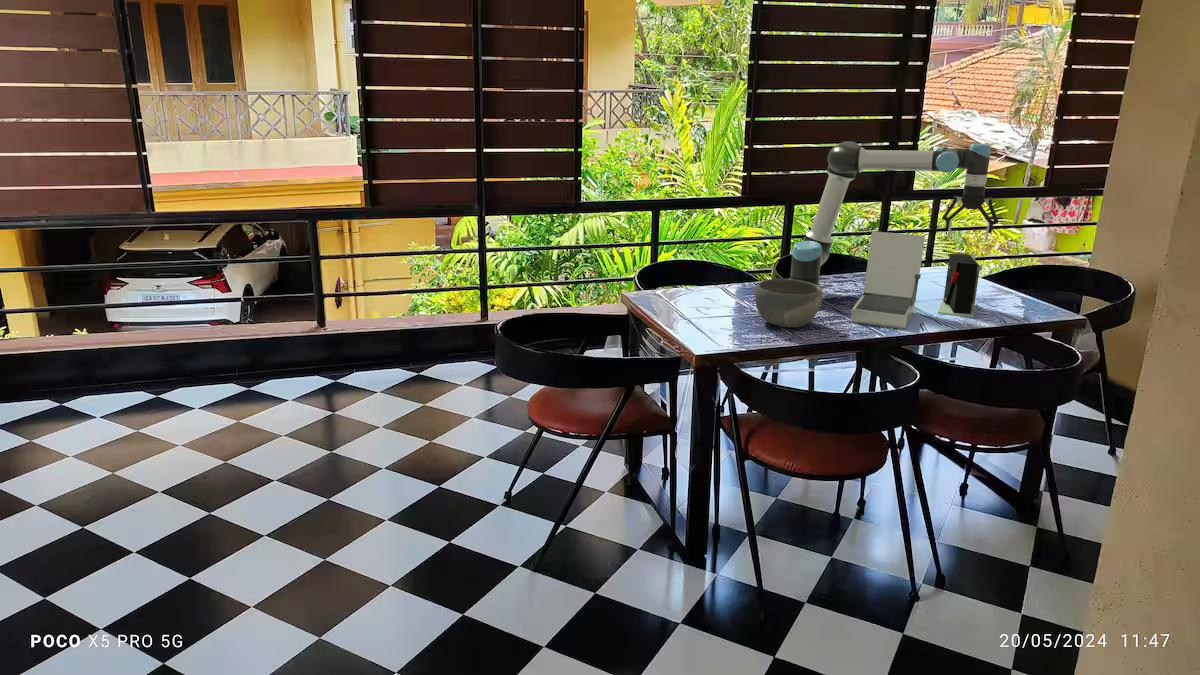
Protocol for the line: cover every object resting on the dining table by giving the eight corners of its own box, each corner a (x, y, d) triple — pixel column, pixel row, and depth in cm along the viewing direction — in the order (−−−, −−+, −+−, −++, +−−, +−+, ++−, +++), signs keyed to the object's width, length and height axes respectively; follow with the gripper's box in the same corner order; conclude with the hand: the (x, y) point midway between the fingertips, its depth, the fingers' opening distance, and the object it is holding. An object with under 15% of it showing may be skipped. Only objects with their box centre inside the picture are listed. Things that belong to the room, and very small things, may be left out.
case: (850, 321, 321) (858, 244, 311) (864, 302, 347) (872, 230, 338) (906, 329, 312) (916, 250, 303) (917, 308, 338) (926, 235, 329)
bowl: (821, 336, 304) (825, 296, 299) (753, 332, 308) (755, 292, 303) (817, 317, 327) (820, 279, 322) (753, 313, 331) (756, 276, 326)
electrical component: (976, 314, 329) (983, 264, 323) (948, 312, 331) (955, 262, 325) (967, 302, 346) (974, 254, 339) (941, 300, 348) (948, 253, 342)
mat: (937, 313, 333) (937, 311, 332) (942, 300, 350) (942, 299, 350) (973, 317, 327) (973, 316, 327) (976, 304, 345) (976, 303, 345)
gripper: (939, 183, 326) (932, 238, 332) (1010, 188, 315) (1001, 244, 322) (941, 181, 332) (934, 234, 339) (1011, 186, 321) (1002, 240, 328)
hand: (966, 239), depth 330 cm, fingers open, 13 cm apart
